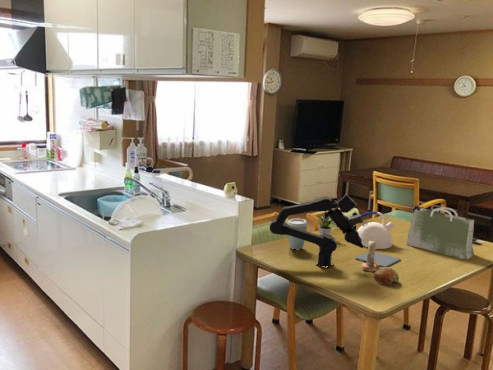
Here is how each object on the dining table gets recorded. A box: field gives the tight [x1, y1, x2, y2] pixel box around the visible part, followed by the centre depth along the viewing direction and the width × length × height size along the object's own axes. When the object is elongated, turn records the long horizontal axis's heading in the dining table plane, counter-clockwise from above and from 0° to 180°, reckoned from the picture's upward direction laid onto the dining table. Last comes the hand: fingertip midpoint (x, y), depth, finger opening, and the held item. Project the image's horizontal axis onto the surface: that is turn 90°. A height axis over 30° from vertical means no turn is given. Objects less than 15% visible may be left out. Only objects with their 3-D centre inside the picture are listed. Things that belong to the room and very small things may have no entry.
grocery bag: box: [406, 206, 475, 260], centre depth 236 cm, size 32×14×23 cm, turn 48°
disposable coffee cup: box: [287, 217, 309, 250], centre depth 229 cm, size 11×11×15 cm
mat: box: [354, 251, 401, 268], centre depth 218 cm, size 16×16×1 cm
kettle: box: [356, 211, 395, 250], centre depth 243 cm, size 20×21×18 cm
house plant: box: [314, 211, 336, 235], centre depth 248 cm, size 14×14×16 cm
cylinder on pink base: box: [361, 241, 380, 272], centre depth 204 cm, size 7×5×13 cm
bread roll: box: [374, 266, 400, 286], centre depth 191 cm, size 10×10×8 cm
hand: (362, 244), depth 203 cm, fingers open, 9 cm apart
